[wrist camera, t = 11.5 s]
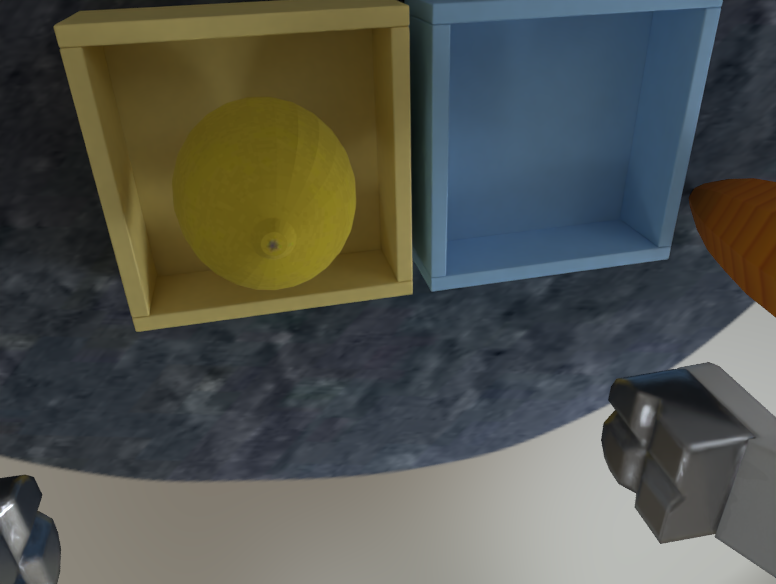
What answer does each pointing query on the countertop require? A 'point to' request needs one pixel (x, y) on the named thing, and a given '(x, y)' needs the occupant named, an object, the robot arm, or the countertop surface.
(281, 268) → the lemon
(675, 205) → the blue bin
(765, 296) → the carrot
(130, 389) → the countertop surface
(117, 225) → the yellow bin
